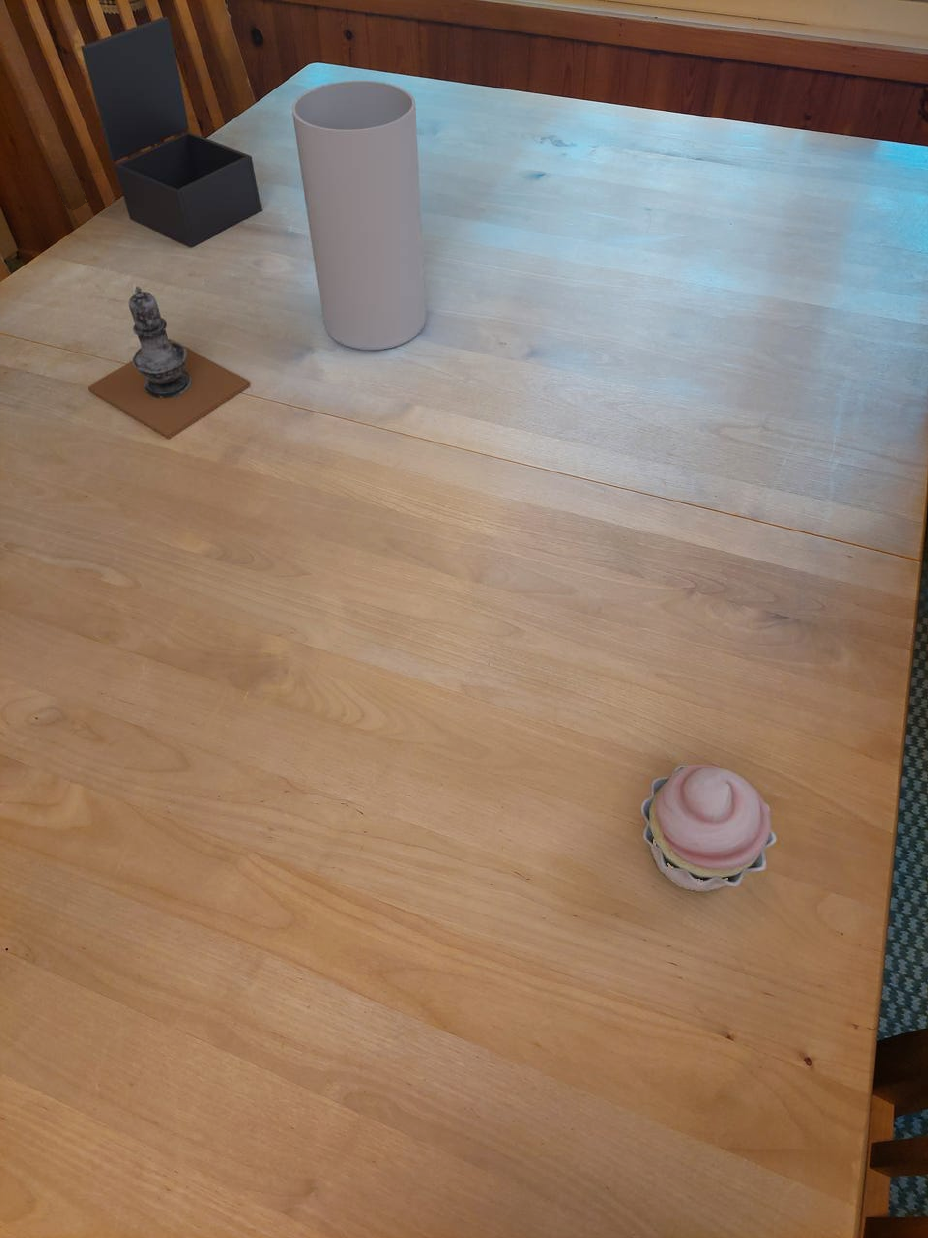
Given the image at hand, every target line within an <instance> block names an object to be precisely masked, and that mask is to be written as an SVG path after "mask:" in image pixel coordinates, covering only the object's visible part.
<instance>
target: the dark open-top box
mask: <svg viewBox="0 0 928 1238" xmlns="http://www.w3.org/2000/svg"><path fill="white" fill-rule="evenodd" d="M254 166H255V165H254V162H253V156H252V155H249V154H247V153H244V152H242V151H240V150H237V149H234V148H233V147H232V148H231V147H229V146H227V145H224V144H222V143H219V142H217V141H215V140H211V139H210V138H209V139H208V138H206V137H204V136H201V135H198V134H197V133H193V132H191V131H186V132H184V133H181V134H179V135H178V136H175V137H172V138H171V139H167V140H166V141H163V142H161V143H159V144H157V145H155V146H153V147H151V148H148V149H146V150H143V151H142V152H139V153H137V154H135V155H133V156H130V157H128V158H126V159H123V160H121V161H119V162H116V163H114V164H113V167H114V170H115V171H114V172H115V173H116V177H117V181H118V184H119V187H120V190H121V194H122V197H123V200H124V203H125V206H126V209H127V210H126V211H127V213H128V217H129V220H131V221H132V222H135V223H137V224H140V225H142V226H144V227H146V228H148V229H150V230H152V231H155V232H157V233H158V234H161V235H163V236H165V237H168V239H169V238H170V239H171V240H174V241H176V242H178V243H180V244H183V245H184V246H187V247H189V248H191V249H192V248H194V247H196V246H198V245H199V244H201V243H203V242H205V241H207V240H209V239H211V238H212V237H214V236H217V235H218V234H220V233H223V232H224V231H226V230H228V229H230V228H231V227H233V226H236V225H237V224H240V223H241V222H243V221H245V220H246V219H249V218H250V217H252V216H254V215H257V214H258V213H260V212H262V211H263V208H262V203H261V199H260V194H259V188H258V183H257V178H256V172H255V167H254Z"/></svg>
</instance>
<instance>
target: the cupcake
mask: <svg viewBox="0 0 928 1238" xmlns="http://www.w3.org/2000/svg"><path fill="white" fill-rule="evenodd" d="M650 788H651V795H650V796H649V797H648V798H646V799H645V800H643V801H642V804H641V806H640V810H641V811H640V812H641V815H642V817H643V819H644V821H645V822H646V825H645V827H644V830H643V835H642V839H643V840H644V841H645V842H646V844H648V845H649V847H650V851H652V852H651V855H652V854H653V856H652V858H653V857H654V858H653V860H654V859H655V861H656V863H657V865H658V867H659V868H660V869H661V870H662V871H663V873H664V874H666V875H667V876H668V877H669V878H670V879H671V880H673V881H674V882H675V883H677V884H678V885H681V886H683V887H686V888H689V889H693V890H700V891H707V890H708V892H710V891H709V890H714V889H717V890H719V889H722V888H724V887H726V886H730V887H738V886H739V885H740V884H741V882H742V880H743V879H744V876H745V875H747V874H751V873H756V872H761V871H763V870H766V867H767V862H766V860H767V859H766V854H765V851H766V850H768V848H770V847H772V846H773V845H774V844H775V843H776V842H777V841H778V838H777V836H776V834H775V833H774V831H773V830H772V829H771V825H772V820H771V815H770V812H771V807H770V805H768V804H767V803H766V801H765V800H764V798H763V797H762V796H761V794H760V793H759V792H758V791H757V790H756V788H754V786H753V785H751V783H749V781H748V780H747V779H746V778H743V777H742V776H740V775H739V774H737V773H736V772H734V771H733V770H732V771H731V770H730V769H729V770H728V769H726V768H722V767H718V766H715V765H705V764H694V765H688V766H687V765H681V764H679V765H678V766H677V767H676V768H674V770H673V772H672V773H671V775H670V776H667V777H658V778H657V779H655V780H653V781H652V783H651V785H650ZM653 839H654V840H655V843H656V846H655V845H654V844H653ZM655 861H654V862H655ZM656 863H655V864H656ZM667 863H669V864H670V865H671V866H673V867H674V868H670V867H668V865H667ZM657 865H656V866H657ZM658 867H657V868H658ZM659 868H658V869H659ZM663 873H662V874H663ZM725 878H728V880H727V881H726V880H724V879H725ZM696 879H700V880H703V881H701V882H699V881H698V880H696ZM725 885H726V886H725ZM723 886H724V887H723ZM721 887H722V888H721ZM718 888H719V889H718ZM714 891H715V890H714Z"/></svg>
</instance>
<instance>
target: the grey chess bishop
mask: <svg viewBox="0 0 928 1238" xmlns="http://www.w3.org/2000/svg"><path fill="white" fill-rule="evenodd" d="M134 292H135V293H134V294H133V295H132V296H130V298H129V299H128V308H129V310H130V314H131V316H132V319H133V322H134V325H133V327H132V331H133V333H134V334H135V335H136V336H137V337H138V340H139V343H140V347H141V348H140V349H138V350H137V351H136V352H135V354H134V356H133V358H132V361H133V364H134V367H135V368H136V369H137V370H139V372H140V373H141V374H142V375H143V376H144V378H145V379H147V380H146V382H145V385H144V388H145V391H146V392H147V393H148V394H149V395H151V396H153V397H157V398H170V397H174V396H177V395H180V394H182V393H183V392H185V391H186V390H187V389H188V388H189V387H190V385H191V383H192V379H191V376H190V375H189V374H188V373H187V372H185V371H184V370H185V364H186V357H187V352H186V350H185V348H184V347H185V346H184V345H182V344H180V343H178V342H177V343H178V344H177V343H174V342H170V341H169V339H170V338H169V336H168V333H167V330H166V329H167V326H168V323H167V321H166V320H165V319H164V318H163V317H162V316H161V313H160V309H159V306H158V304H157V303H158V302H157V300H156V298H155V296H154V295H153V294H151V293H150V292H146V291H142V288H141V287H139V286H136V288H135V290H134ZM179 344H180V345H179ZM181 345H182V346H181ZM183 346H184V347H183Z"/></svg>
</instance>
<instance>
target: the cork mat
mask: <svg viewBox="0 0 928 1238" xmlns="http://www.w3.org/2000/svg"><path fill="white" fill-rule="evenodd" d="M168 339H169V341H170V342H174V343H177V344H179V345H181V346H183V347H184V348H185V350H186V352H187V357H186V364H185V370H184V371H185V372H187V373H188V374H189V375H190V376H191V379H192V383H191V385H190V387H189V388H188V389H187V390H186V391H185V392H183V393H182V394H180V395H177V396H174V397H170V398H157V397H153V396H151V395H149V394H148V393H147V392H146V391H145V388H144V385H145V382H146V380H147V379H145V378H144V376H143V375H142V374H141V373H140V372H139V370H137V369H136V368H135V367H134V364H133V360H131V361H129V362H127V363H126V364H124V365H122V366H121V367H119V368H117V369H115V370H114V371H112V372H111V373H109V374H107V375H105V376H103V377H102V378H100V379H99V380H96V381H95V382H94V383H92V384H90V385H89V386H87V389H88V392H90V393H91V394H93V395H95V396H96V397H98V398H100V399H102V401H105V402H107V403H108V404H109V405H112V407H115V408H116V409H118V410H119V411H121V412H123V413H125V414H126V415H128V416H130V417H131V418H132V419H134V420H135V421H138V422H140V423H141V424H143V425H144V426H146V427H148V428H149V429H150V430H153V431H154V432H156V433H157V434H159V435H161V436H162V437H164V438H165V439H168V440H170V439H172V438H173V437H175V436H176V435H177V434H179V433H181V432H182V431H184V430H185V429H187V428H189V426H191V425H192V424H195V423H196V422H198V421H200V419H202V418H204V417H205V416H207V415H208V414H210V413H212V412H213V411H214V410H216V409H217V408H219V407H220V406H222V405H224V404H225V403H227V402H228V401H229V400H231V399H232V398H234V397H235V396H237V395H239V394H240V393H241V392H243V391H245V390H246V389H248V388H249V387H251V382H250V380H248V379H246V378H244V377H242V376H240V375H238V374H236V373H234V372H232V371H231V370H229V369H227V368H225V367H223V366H221V365H219V364H218V363H216V362H214V361H213V360H211V359H208V358H206V357H205V356H203V355H201V354H199V353H198V352H195V351H193V350H191V349H190V348H188V347H186V346H185V345H183V344H181V343H178V342H177V341H175V340H173V339H171V338H168Z"/></svg>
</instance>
